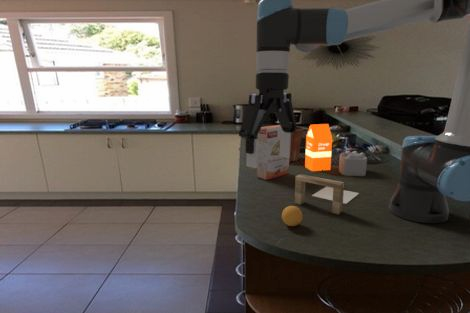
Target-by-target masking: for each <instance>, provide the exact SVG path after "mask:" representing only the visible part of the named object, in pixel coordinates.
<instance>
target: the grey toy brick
mask: <svg viewBox="0 0 470 313" xmlns="http://www.w3.org/2000/svg"><path fill="white" fill-rule="evenodd" d="M367 162H368V157H367V156H366V153H364V152H360V153H359V152H358V151H357V150H353V151H352V152H351V151H350V150H346V152H345V151H343V152H341V153H340V154H339V162H338V163H339V164H338V172H339V173H340V174H341V175H343V176H346V177H349V176H350V177H354V176H355V177H364V176H366V175H367V174H366V173H367V165H368V164H367Z"/></svg>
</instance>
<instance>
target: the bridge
mask: <svg viewBox="0 0 470 313" xmlns="http://www.w3.org/2000/svg"><path fill="white" fill-rule="evenodd" d="M306 183H309V184H315V185H320V186H325V187H331V188H333V201H332V206H331V208H332V209H331V213H332V214H334V215H340V214H341V213H343V204H344V203H343V194H344V190H345V182H344V181H338V180H335V179H334V180H333V179H327V178H322V177H318V176H312V175H307V174H302V173H299V174H297V175H295V180H294V204H295V205H300V206H301V205H302V204H304V203H305V202H306V201H305V200H306Z"/></svg>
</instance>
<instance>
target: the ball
mask: <svg viewBox="0 0 470 313" xmlns="http://www.w3.org/2000/svg"><path fill="white" fill-rule="evenodd" d="M281 219H282V221H283V223H284V224H286V226H288V227H297V226H298V225H300V224H301V222H302V221H303V212H302V210H301V209H300V208H299V207H298V206H294V205H288V206H287V207H285V208H283V211H282V213H281Z"/></svg>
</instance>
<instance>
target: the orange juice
mask: <svg viewBox="0 0 470 313" xmlns="http://www.w3.org/2000/svg"><path fill="white" fill-rule="evenodd" d="M305 136H306V137H305V160H304V166H305V167H304V168H306V169H307V170H309V171H310V172H319V171H321V172H322V170H323V171H331V166H332V148H333V136H332V132H331V129H330V125H329V123H319V124H318V123H317V124H310V125H309V127H308V130H307V133H306V135H305Z"/></svg>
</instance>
